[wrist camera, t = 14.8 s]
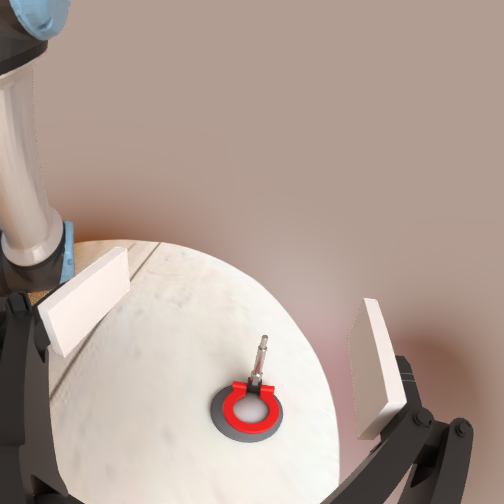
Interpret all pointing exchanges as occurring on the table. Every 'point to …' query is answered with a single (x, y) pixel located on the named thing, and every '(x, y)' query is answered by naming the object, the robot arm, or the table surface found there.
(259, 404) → the plate
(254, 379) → the tow hook
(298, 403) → the table surface
